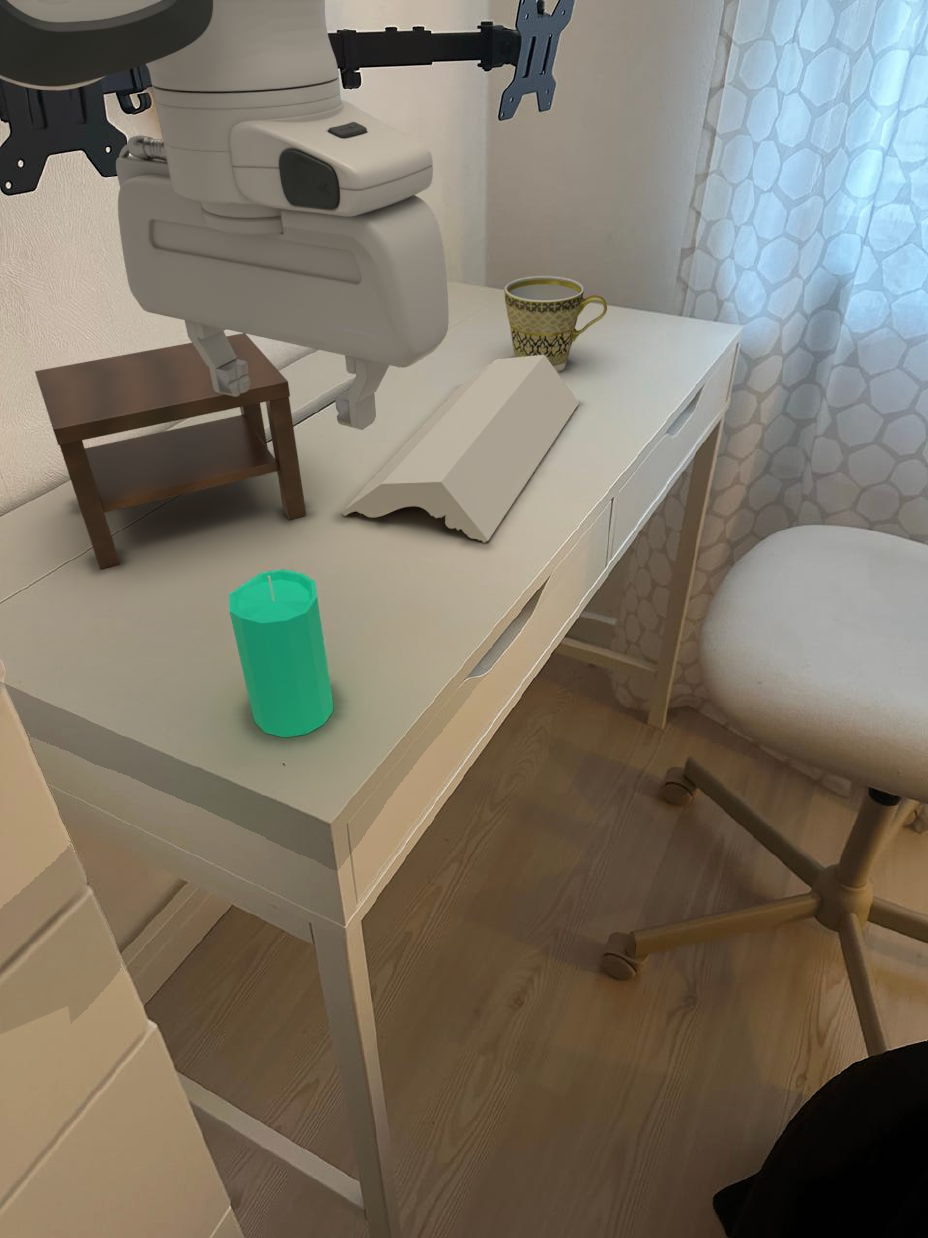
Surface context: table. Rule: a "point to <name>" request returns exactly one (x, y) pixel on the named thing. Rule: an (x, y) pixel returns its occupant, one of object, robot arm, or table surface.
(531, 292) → the ceramic cup
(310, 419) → the table surface
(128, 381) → the stand
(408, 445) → the molding piece
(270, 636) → the candle
